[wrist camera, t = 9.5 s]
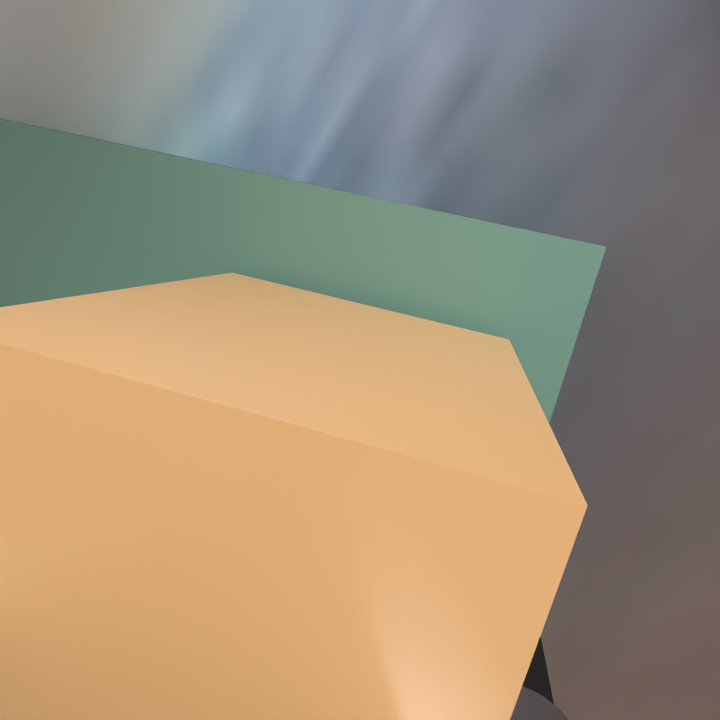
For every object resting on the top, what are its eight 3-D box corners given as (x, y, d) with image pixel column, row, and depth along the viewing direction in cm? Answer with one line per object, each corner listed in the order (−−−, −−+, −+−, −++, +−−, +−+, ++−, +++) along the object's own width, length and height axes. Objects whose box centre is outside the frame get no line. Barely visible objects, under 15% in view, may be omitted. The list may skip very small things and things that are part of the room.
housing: (509, 339, 10) (587, 506, 4) (398, 717, 12) (334, 1201, 6) (232, 272, 11) (-85, 320, 4) (177, 641, 13) (-81, 1008, 7)
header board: (582, 245, 12) (666, 251, 7) (439, 705, 15) (428, 923, 10) (-79, 104, 14) (-365, 35, 9) (-76, 533, 17) (-283, 647, 12)
